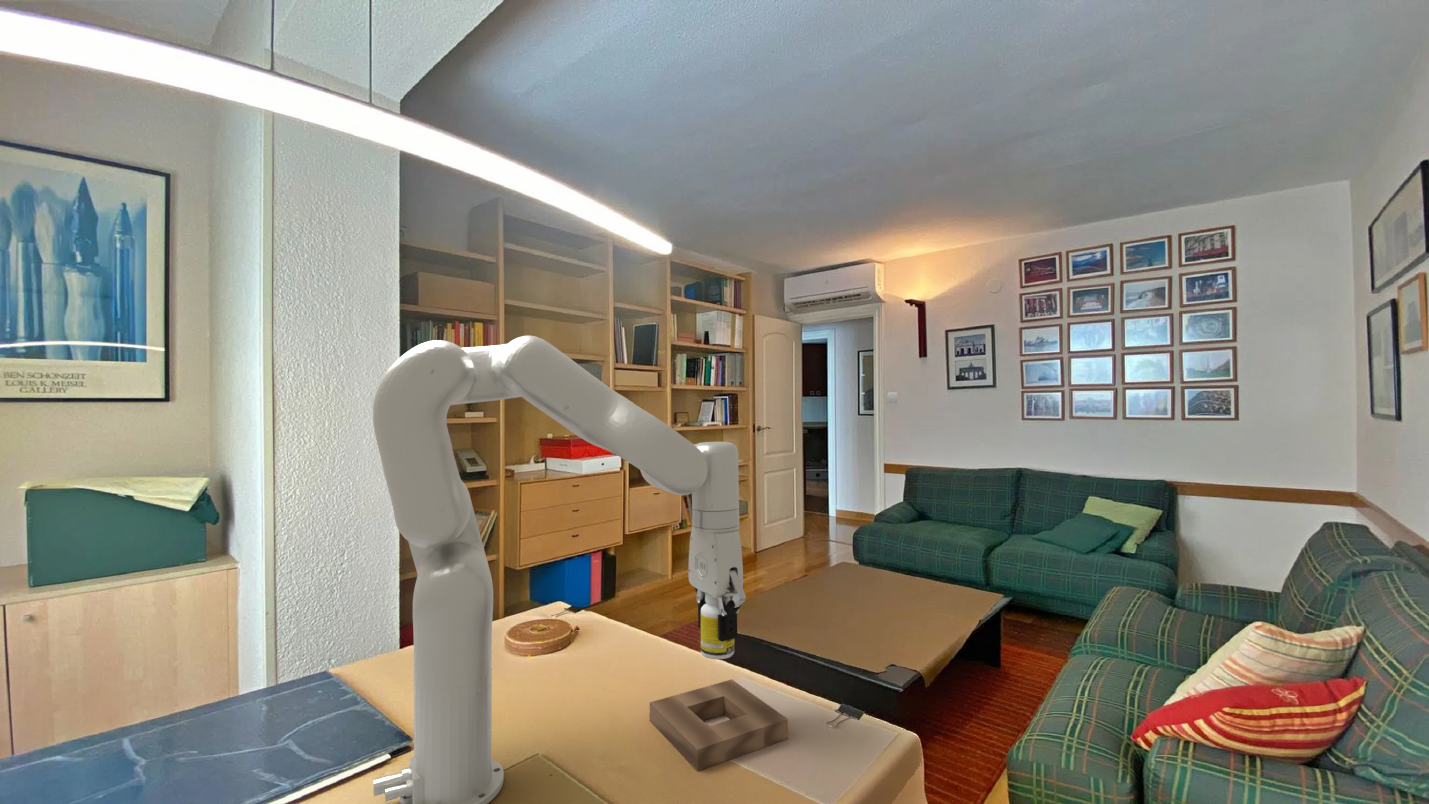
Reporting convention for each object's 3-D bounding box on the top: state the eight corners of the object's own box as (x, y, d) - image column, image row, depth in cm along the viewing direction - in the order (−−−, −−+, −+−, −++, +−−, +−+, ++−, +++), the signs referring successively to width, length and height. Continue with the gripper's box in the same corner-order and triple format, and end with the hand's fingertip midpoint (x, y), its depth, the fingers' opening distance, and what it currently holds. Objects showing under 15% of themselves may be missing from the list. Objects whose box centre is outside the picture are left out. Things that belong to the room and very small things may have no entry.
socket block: (697, 771, 83) (697, 749, 83) (649, 720, 97) (649, 702, 97) (787, 738, 92) (787, 718, 92) (732, 696, 105) (731, 679, 105)
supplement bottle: (731, 661, 91) (730, 597, 92) (697, 659, 93) (696, 596, 93) (737, 648, 97) (736, 587, 97) (704, 645, 98) (704, 586, 98)
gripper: (670, 514, 100) (672, 621, 100) (724, 530, 86) (726, 657, 85) (708, 509, 104) (710, 613, 104) (766, 525, 90) (768, 645, 89)
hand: (717, 631), depth 95 cm, fingers closed on supplement bottle, 5 cm apart
